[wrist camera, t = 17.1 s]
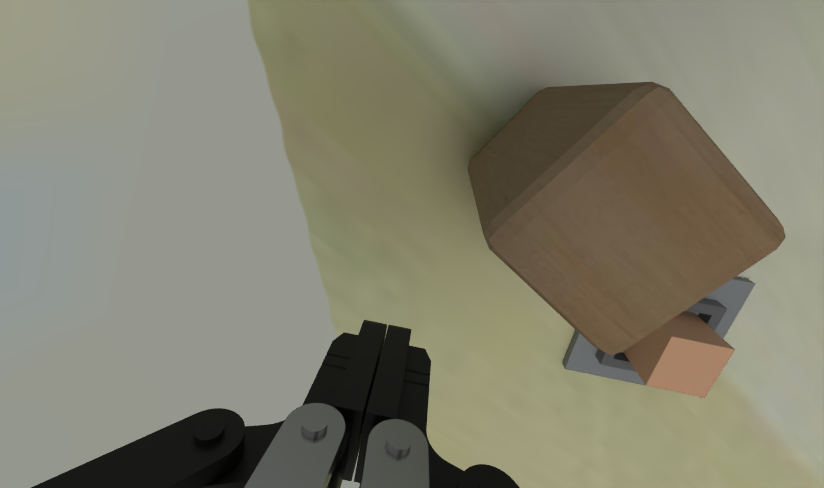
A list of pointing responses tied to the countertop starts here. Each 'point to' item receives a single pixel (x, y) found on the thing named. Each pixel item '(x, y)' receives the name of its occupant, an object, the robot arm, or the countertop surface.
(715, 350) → the brick
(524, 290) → the countertop surface
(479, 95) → the countertop surface
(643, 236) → the wooden block
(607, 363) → the socket board
